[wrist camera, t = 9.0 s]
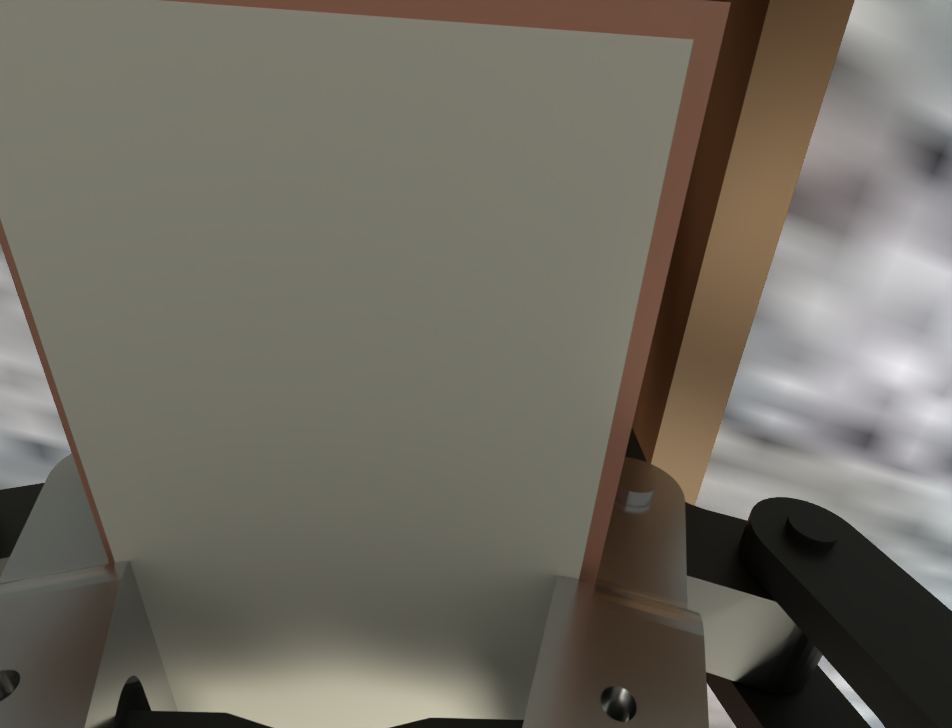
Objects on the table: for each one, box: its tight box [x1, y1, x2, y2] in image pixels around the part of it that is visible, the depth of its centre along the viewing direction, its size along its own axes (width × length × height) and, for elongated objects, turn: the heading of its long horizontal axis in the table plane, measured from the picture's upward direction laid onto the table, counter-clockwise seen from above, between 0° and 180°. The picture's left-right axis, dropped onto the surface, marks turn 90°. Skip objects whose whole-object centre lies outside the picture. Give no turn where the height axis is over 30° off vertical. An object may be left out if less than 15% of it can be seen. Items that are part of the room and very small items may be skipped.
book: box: [0, 0, 731, 728], centre depth 9 cm, size 12×4×7 cm, turn 176°
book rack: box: [632, 0, 854, 506], centre depth 13 cm, size 28×12×7 cm, turn 177°
